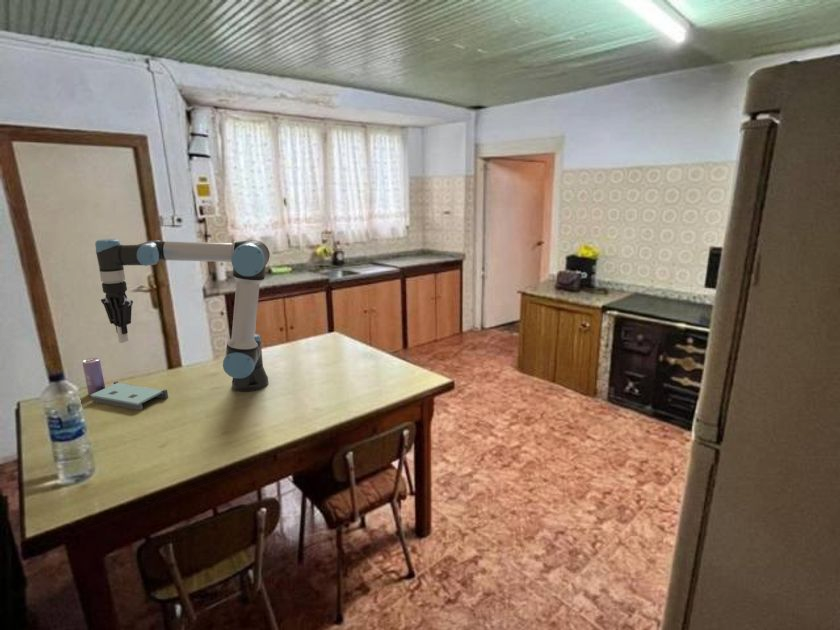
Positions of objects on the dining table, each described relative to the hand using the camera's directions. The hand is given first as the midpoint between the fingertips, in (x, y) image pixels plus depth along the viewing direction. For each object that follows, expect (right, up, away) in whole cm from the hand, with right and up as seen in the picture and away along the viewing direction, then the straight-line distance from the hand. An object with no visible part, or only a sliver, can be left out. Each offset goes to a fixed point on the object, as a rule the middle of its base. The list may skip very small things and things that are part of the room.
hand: (123, 341), depth 175 cm
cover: (-5, -22, +10) cm, 24 cm away
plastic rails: (-5, -24, +11) cm, 27 cm away
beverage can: (-21, -23, +16) cm, 35 cm away
